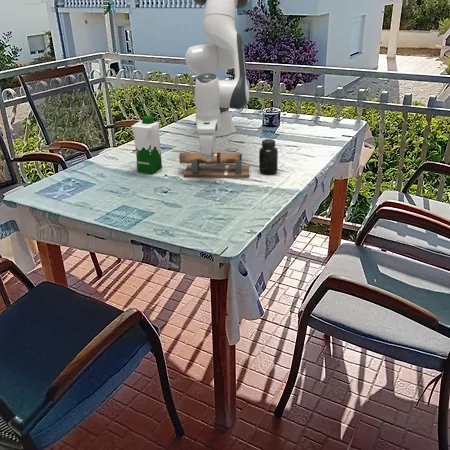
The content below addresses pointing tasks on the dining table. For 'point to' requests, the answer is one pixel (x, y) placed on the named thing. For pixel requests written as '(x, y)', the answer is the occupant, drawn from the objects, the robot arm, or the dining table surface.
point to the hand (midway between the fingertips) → (209, 158)
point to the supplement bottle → (268, 157)
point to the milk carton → (147, 145)
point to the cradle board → (217, 171)
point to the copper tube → (215, 158)
